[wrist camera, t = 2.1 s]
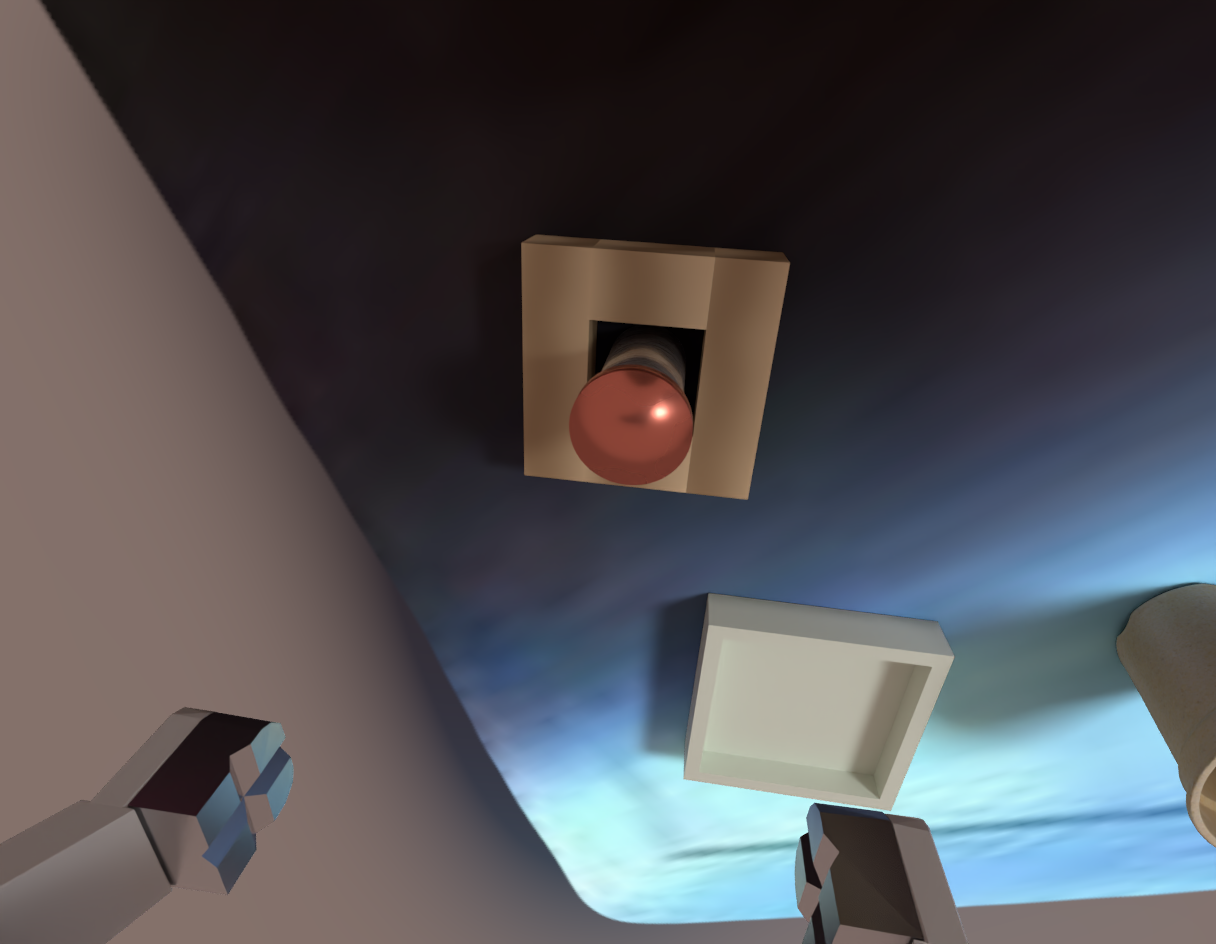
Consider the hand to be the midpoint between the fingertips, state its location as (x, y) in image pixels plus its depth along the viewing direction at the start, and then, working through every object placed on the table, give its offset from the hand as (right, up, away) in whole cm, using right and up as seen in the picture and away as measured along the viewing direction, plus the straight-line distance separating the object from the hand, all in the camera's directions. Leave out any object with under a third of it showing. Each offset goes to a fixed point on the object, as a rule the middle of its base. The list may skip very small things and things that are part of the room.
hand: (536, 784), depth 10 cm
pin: (+3, +10, +18) cm, 21 cm away
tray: (+12, -7, +26) cm, 29 cm away
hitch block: (+3, +10, +18) cm, 21 cm away
